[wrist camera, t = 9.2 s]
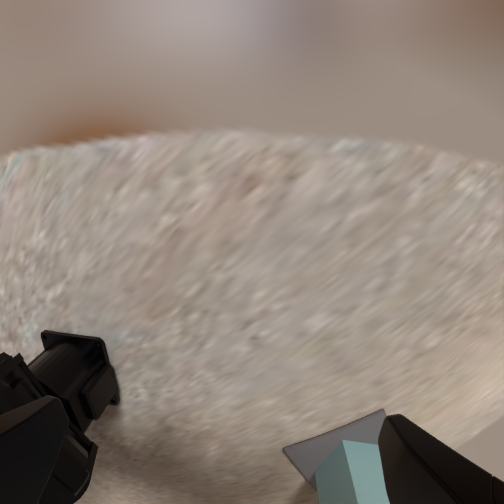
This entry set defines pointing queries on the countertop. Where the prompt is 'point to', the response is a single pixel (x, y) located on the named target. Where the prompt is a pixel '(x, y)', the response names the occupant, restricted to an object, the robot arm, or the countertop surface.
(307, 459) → the mat
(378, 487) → the carton
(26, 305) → the countertop surface
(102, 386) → the robot arm
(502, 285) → the countertop surface
